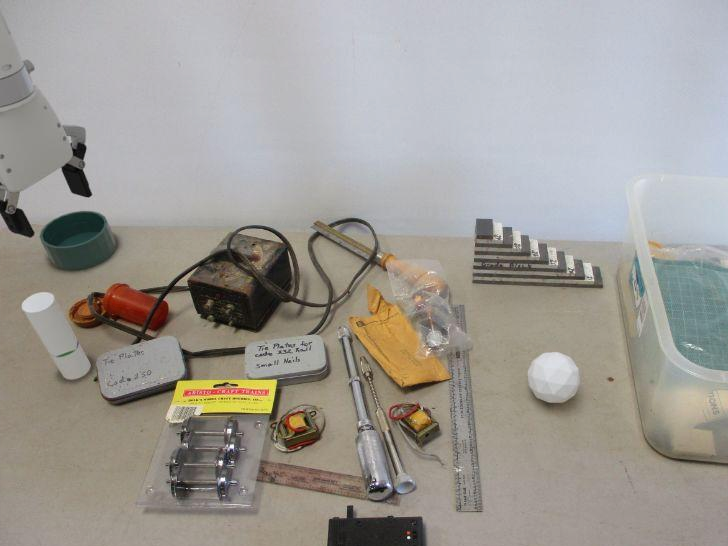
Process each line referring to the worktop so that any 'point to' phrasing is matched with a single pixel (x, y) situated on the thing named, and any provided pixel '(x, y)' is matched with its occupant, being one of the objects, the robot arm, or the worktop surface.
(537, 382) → the ball
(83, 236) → the bowl
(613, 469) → the worktop surface
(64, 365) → the tube
